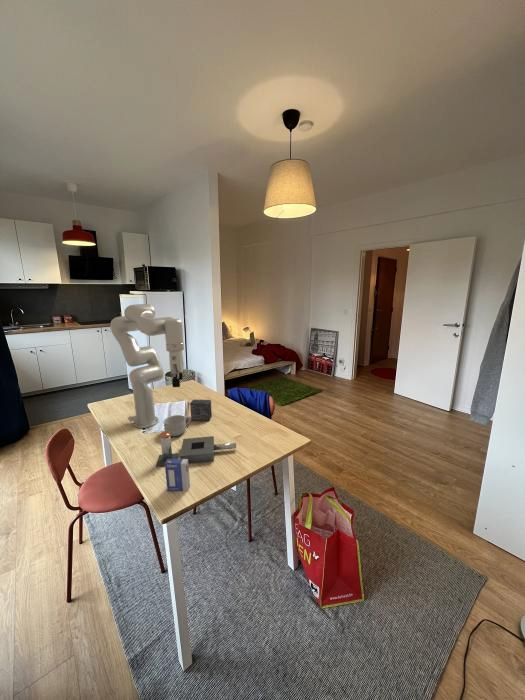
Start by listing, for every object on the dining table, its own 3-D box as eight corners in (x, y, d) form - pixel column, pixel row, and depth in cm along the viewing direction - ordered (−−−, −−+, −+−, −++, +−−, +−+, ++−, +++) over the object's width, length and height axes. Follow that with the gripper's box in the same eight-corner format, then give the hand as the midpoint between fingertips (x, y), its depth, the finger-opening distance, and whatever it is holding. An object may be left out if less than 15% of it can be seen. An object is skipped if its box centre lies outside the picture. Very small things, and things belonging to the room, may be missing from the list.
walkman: (167, 491, 106) (164, 462, 103) (169, 486, 109) (167, 458, 106) (188, 491, 106) (186, 462, 103) (190, 486, 109) (188, 458, 106)
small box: (212, 416, 166) (211, 399, 163) (209, 421, 160) (208, 404, 157) (194, 415, 167) (193, 398, 164) (190, 420, 161) (189, 403, 158)
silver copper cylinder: (171, 461, 123) (169, 435, 120) (161, 462, 122) (159, 436, 120) (172, 455, 127) (170, 431, 124) (163, 456, 126) (161, 431, 124)
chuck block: (180, 464, 122) (179, 456, 121) (184, 446, 135) (183, 438, 134) (237, 458, 125) (237, 450, 125) (235, 441, 139) (234, 434, 138)
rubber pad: (155, 467, 120) (155, 465, 120) (159, 456, 128) (159, 454, 128) (175, 465, 121) (175, 463, 121) (178, 454, 129) (177, 453, 129)
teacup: (166, 440, 140) (165, 425, 138) (163, 431, 150) (161, 416, 148) (194, 434, 146) (193, 419, 145) (189, 425, 156) (188, 411, 154)
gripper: (181, 351, 120) (184, 389, 124) (185, 342, 137) (187, 376, 141) (162, 351, 119) (166, 390, 123) (169, 343, 136) (172, 377, 140)
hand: (177, 383), depth 132 cm, fingers open, 9 cm apart
